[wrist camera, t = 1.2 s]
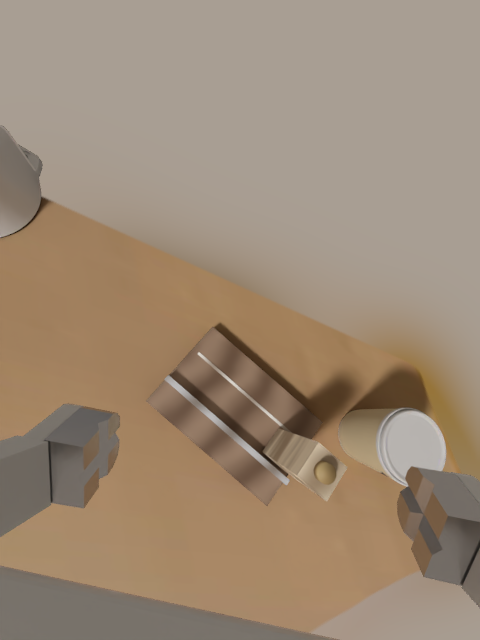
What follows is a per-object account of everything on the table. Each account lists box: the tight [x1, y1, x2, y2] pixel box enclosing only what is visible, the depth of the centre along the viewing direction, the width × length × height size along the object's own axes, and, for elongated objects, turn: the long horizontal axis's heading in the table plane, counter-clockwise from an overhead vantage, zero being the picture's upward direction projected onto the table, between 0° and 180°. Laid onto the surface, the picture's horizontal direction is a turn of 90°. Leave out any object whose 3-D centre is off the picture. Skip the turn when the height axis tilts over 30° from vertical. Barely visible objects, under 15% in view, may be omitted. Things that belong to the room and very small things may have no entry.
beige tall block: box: [262, 429, 347, 501], centre depth 37 cm, size 4×5×14 cm
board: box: [146, 327, 323, 506], centre depth 44 cm, size 22×14×4 cm, turn 51°
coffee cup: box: [338, 408, 446, 486], centre depth 44 cm, size 9×9×12 cm
